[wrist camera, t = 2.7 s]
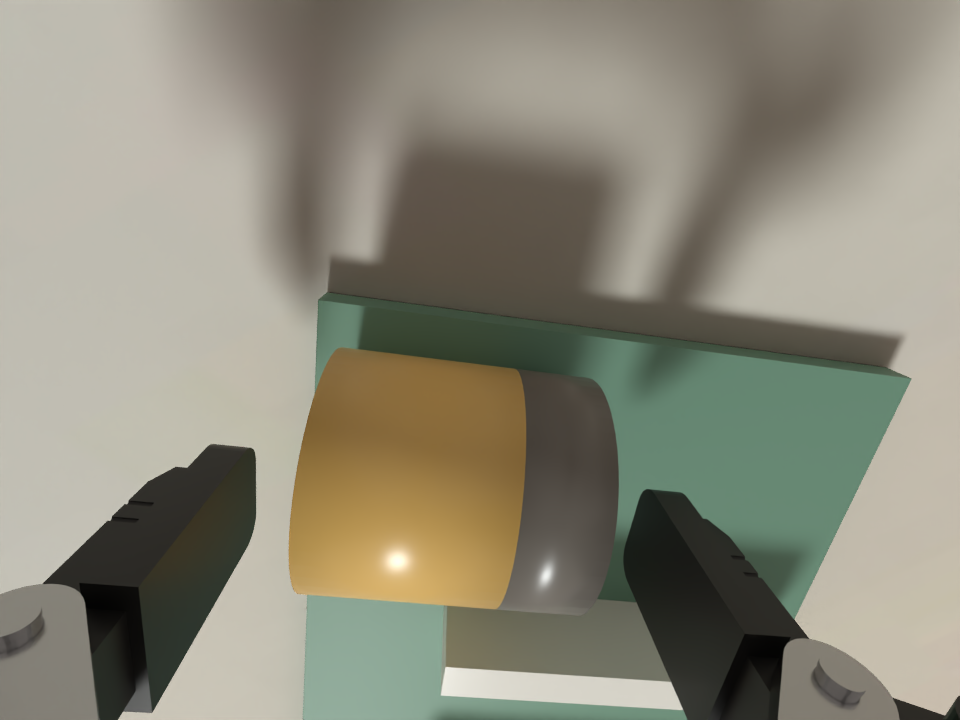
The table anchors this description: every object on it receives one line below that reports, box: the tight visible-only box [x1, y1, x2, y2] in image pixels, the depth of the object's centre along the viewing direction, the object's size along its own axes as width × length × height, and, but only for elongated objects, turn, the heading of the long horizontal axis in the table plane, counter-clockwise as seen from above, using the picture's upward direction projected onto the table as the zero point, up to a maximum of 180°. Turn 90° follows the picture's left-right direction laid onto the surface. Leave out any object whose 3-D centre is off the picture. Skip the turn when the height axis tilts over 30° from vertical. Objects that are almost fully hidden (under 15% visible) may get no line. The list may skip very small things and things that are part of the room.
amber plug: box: [289, 347, 619, 616], centre depth 10 cm, size 5×5×5 cm
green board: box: [303, 293, 911, 720], centre depth 15 cm, size 18×15×1 cm
